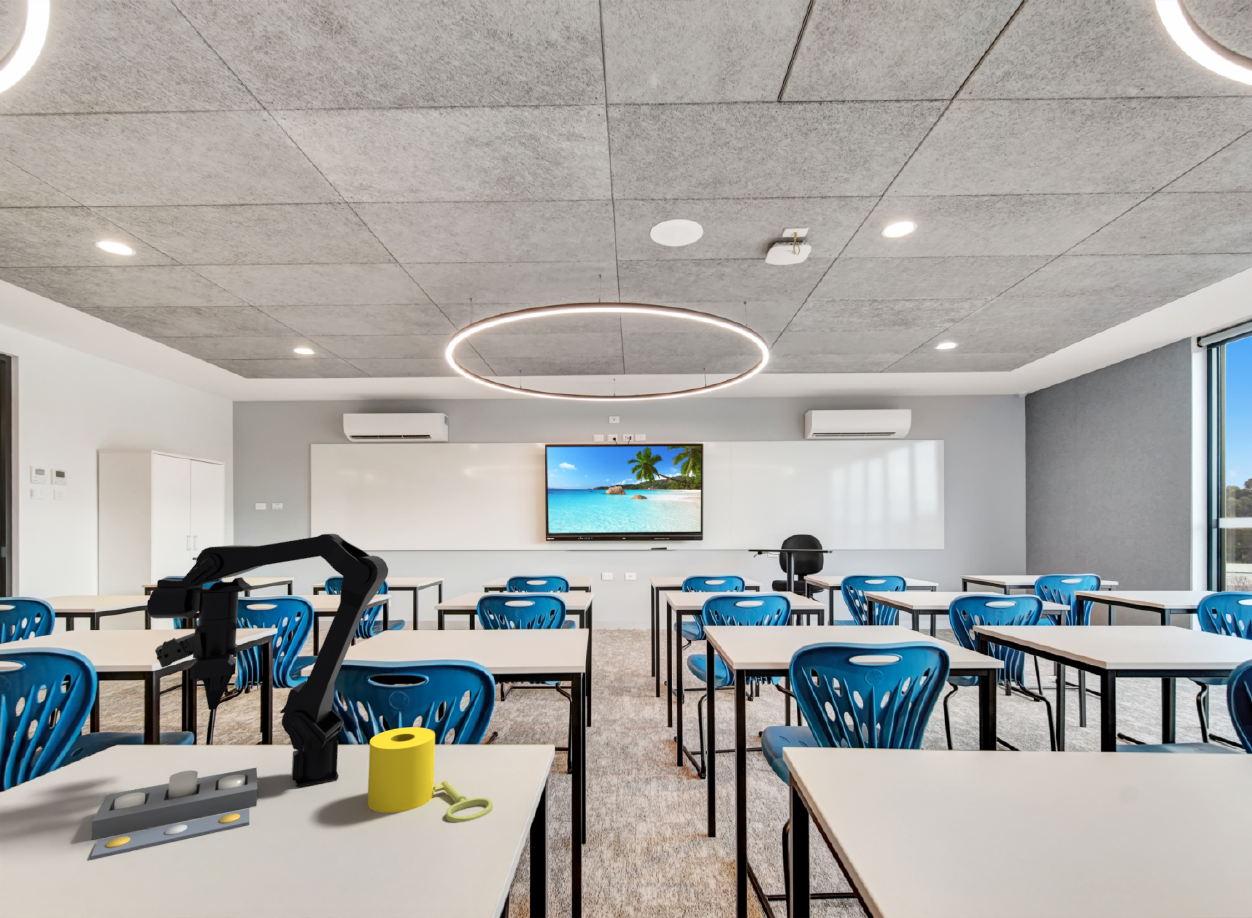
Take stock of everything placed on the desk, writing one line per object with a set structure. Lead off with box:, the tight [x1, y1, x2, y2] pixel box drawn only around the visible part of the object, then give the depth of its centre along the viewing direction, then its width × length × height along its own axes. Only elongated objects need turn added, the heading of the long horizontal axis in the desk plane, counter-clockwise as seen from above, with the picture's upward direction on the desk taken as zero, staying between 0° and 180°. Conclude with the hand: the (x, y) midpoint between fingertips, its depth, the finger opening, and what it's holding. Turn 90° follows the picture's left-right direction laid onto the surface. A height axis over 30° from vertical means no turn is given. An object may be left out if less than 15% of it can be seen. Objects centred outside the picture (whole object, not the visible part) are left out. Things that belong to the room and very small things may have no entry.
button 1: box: [114, 793, 145, 810], centre depth 93 cm, size 4×4×3 cm
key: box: [433, 780, 494, 823], centre depth 97 cm, size 7×12×2 cm, turn 57°
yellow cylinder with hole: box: [367, 726, 436, 814], centre depth 101 cm, size 10×10×9 cm
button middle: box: [168, 770, 199, 799], centre depth 97 cm, size 4×4×3 cm
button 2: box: [218, 775, 245, 790], centre depth 100 cm, size 4×4×3 cm
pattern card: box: [90, 808, 250, 860], centre depth 89 cm, size 18×5×1 cm, turn 121°
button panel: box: [90, 767, 258, 841], centre depth 97 cm, size 20×10×2 cm, turn 121°
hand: (212, 709), depth 108 cm, fingers closed
